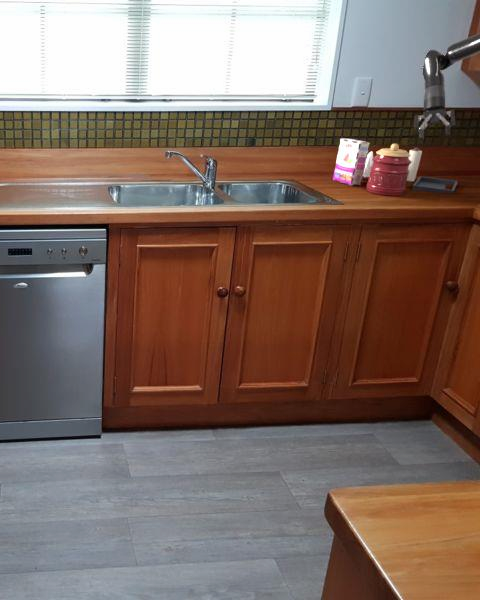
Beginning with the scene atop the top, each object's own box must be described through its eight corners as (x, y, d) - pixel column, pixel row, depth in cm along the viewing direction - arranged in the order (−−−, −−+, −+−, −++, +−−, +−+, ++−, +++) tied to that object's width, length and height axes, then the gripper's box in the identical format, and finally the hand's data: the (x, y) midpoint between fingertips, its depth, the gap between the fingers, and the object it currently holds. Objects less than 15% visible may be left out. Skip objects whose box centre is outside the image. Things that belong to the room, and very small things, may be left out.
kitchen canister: (368, 186, 233) (378, 139, 226) (405, 191, 227) (416, 143, 220) (363, 193, 222) (373, 143, 216) (402, 198, 216) (414, 147, 210)
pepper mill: (415, 180, 246) (423, 147, 241) (413, 182, 243) (422, 148, 238) (403, 179, 248) (411, 146, 243) (401, 180, 245) (409, 147, 240)
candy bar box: (361, 185, 234) (371, 142, 228) (351, 186, 233) (360, 142, 226) (342, 179, 244) (350, 137, 237) (331, 180, 242) (340, 138, 236)
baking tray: (456, 185, 239) (458, 181, 239) (452, 195, 223) (453, 190, 222) (418, 180, 246) (419, 176, 245) (411, 190, 229) (412, 185, 229)
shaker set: (361, 180, 242) (367, 152, 238) (353, 178, 246) (359, 151, 242) (385, 179, 246) (391, 152, 242) (377, 177, 250) (383, 150, 245)
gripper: (413, 99, 246) (413, 137, 244) (454, 92, 238) (454, 131, 236) (415, 106, 252) (415, 144, 250) (455, 99, 244) (455, 138, 242)
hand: (434, 138), depth 243 cm, fingers open, 8 cm apart
